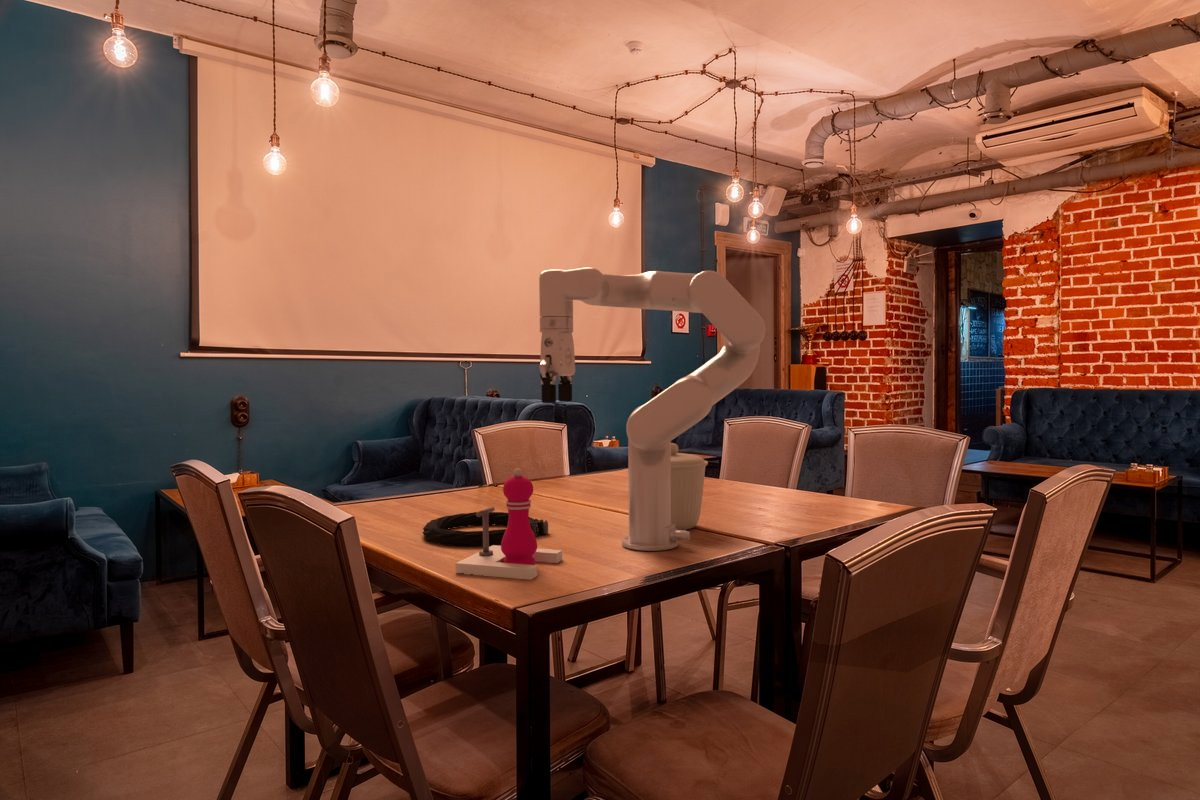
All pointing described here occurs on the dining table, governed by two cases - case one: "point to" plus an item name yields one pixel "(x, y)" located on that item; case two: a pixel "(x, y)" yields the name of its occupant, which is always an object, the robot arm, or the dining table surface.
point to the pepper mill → (518, 521)
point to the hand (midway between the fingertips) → (557, 401)
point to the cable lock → (439, 534)
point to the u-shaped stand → (502, 558)
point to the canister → (686, 488)
